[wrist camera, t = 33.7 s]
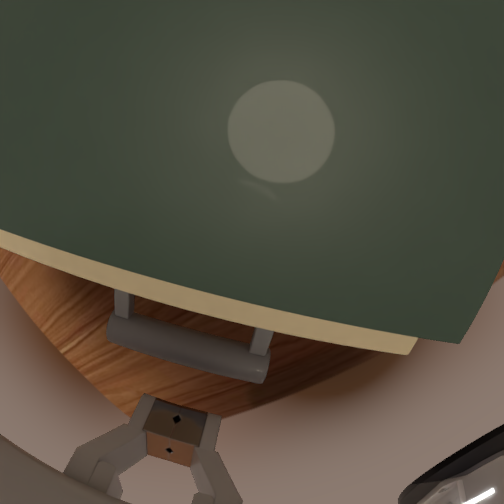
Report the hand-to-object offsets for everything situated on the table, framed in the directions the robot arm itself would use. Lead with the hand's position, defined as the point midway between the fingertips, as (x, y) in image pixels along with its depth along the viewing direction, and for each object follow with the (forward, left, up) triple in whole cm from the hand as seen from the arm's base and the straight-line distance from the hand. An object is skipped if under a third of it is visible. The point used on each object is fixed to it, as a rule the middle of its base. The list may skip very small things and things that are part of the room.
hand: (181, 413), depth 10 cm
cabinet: (+14, 0, -7) cm, 15 cm away
